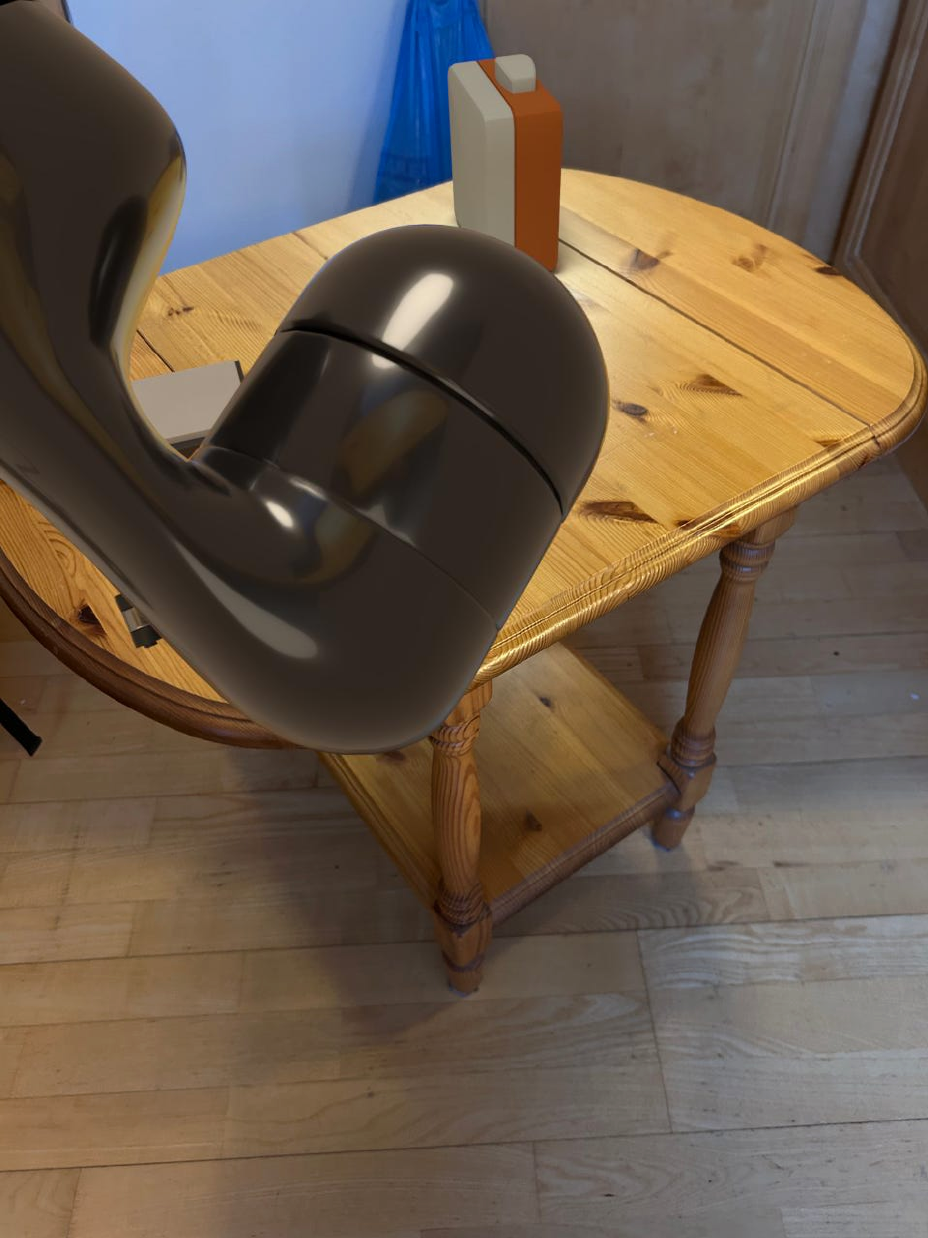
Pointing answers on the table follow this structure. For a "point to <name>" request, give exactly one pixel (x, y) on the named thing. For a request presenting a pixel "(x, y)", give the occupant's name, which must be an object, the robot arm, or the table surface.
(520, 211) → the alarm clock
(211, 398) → the scale
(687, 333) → the table surface
